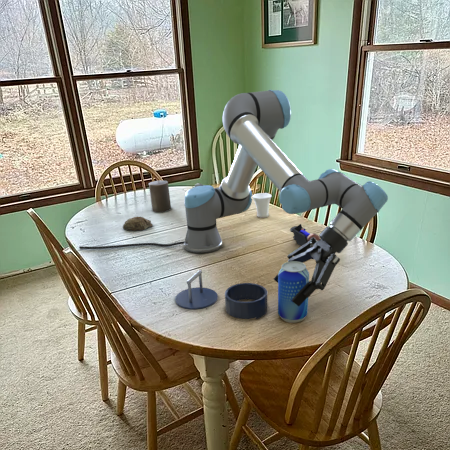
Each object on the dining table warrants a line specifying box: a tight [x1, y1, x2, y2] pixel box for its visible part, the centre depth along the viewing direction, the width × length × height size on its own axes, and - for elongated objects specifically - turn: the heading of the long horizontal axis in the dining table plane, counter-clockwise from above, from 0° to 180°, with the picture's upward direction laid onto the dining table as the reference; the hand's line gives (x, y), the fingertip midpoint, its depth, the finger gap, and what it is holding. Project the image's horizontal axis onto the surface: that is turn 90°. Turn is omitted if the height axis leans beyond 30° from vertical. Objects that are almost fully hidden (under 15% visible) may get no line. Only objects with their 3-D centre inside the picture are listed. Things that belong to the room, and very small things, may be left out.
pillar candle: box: [148, 180, 172, 213], centre depth 222 cm, size 10×10×15 cm
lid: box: [174, 269, 219, 310], centre depth 137 cm, size 13×13×9 cm
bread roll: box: [122, 216, 154, 232], centre depth 203 cm, size 13×12×5 cm
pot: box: [224, 282, 268, 320], centre depth 131 cm, size 12×12×6 cm
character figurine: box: [289, 223, 320, 247], centre depth 172 cm, size 8×7×15 cm
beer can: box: [277, 261, 310, 324], centre depth 124 cm, size 8×8×16 cm
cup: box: [251, 192, 272, 219], centre depth 206 cm, size 9×9×10 cm
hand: (285, 292), depth 123 cm, fingers open, 13 cm apart
